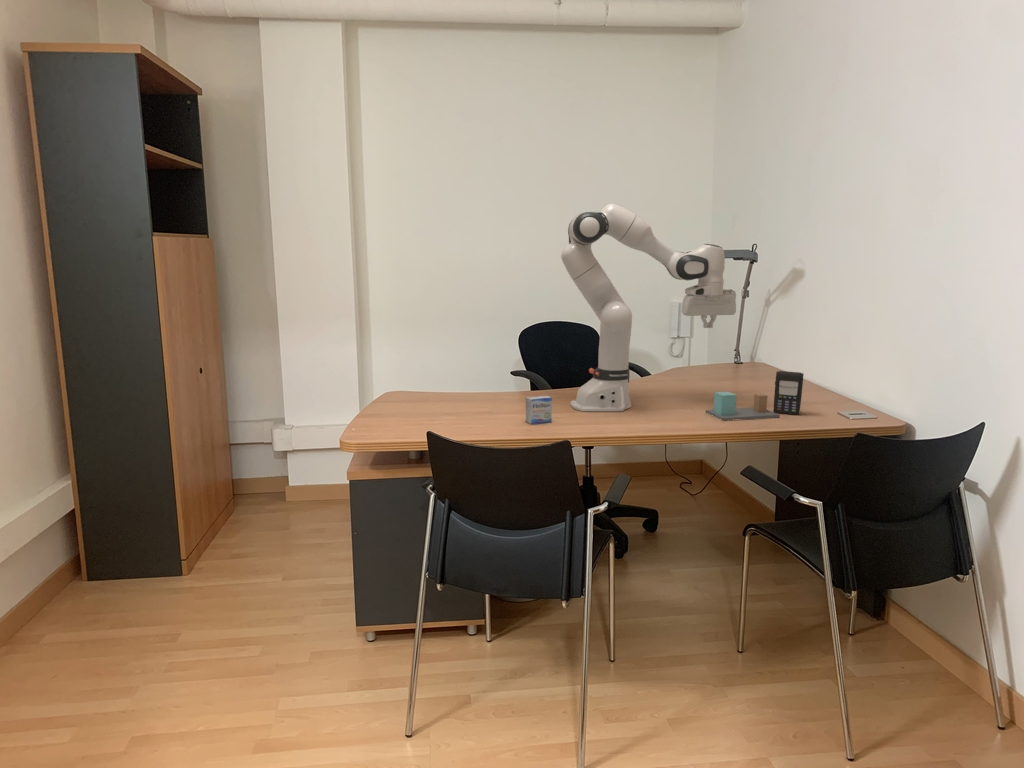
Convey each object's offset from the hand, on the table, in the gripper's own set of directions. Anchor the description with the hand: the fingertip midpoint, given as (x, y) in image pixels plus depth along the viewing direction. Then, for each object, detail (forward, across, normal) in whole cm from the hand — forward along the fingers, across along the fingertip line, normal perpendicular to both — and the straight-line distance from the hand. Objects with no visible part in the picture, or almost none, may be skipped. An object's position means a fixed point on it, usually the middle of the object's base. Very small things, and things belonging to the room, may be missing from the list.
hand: (708, 327), depth 264 cm
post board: (+29, -6, +17) cm, 34 cm away
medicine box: (+29, +67, +11) cm, 74 cm away
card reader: (+29, -23, +18) cm, 41 cm away
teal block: (+28, +1, +17) cm, 33 cm away
